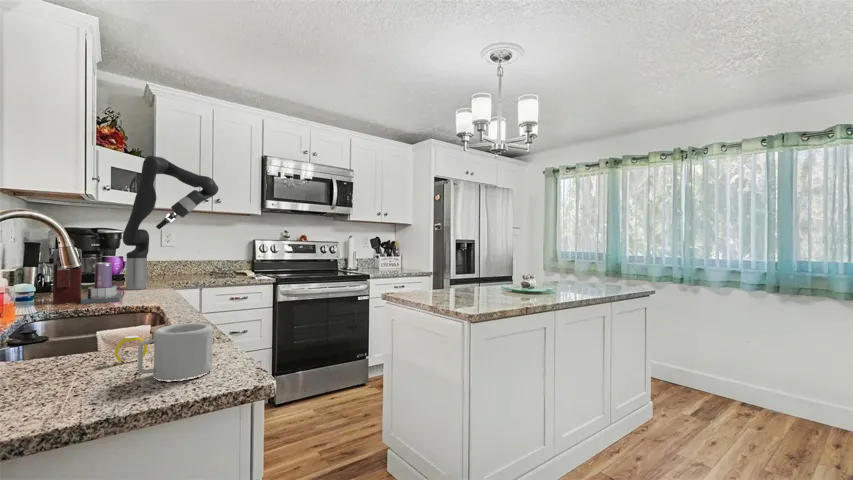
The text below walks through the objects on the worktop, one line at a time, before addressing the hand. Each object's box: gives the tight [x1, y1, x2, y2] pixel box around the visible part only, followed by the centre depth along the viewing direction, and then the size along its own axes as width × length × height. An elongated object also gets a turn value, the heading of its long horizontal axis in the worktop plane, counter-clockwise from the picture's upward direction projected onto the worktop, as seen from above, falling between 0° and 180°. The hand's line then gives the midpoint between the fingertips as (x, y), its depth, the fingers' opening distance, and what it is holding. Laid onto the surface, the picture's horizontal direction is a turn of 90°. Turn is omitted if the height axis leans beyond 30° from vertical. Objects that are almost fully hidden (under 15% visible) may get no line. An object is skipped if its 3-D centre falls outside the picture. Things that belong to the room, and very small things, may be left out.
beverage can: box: [94, 262, 113, 288], centre depth 179 cm, size 6×6×15 cm
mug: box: [137, 322, 214, 380], centre depth 83 cm, size 14×11×10 cm
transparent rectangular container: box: [80, 285, 122, 305], centre depth 179 cm, size 18×13×6 cm
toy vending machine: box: [52, 238, 83, 305], centre depth 172 cm, size 9×11×28 cm
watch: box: [114, 335, 148, 362], centre depth 92 cm, size 6×3×6 cm, turn 139°
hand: (157, 228), depth 200 cm, fingers open, 8 cm apart
